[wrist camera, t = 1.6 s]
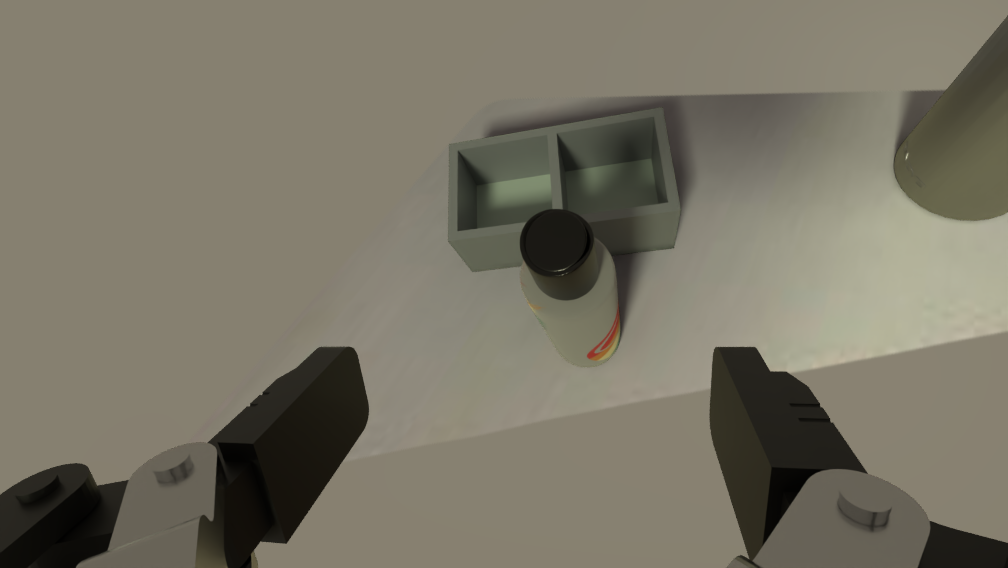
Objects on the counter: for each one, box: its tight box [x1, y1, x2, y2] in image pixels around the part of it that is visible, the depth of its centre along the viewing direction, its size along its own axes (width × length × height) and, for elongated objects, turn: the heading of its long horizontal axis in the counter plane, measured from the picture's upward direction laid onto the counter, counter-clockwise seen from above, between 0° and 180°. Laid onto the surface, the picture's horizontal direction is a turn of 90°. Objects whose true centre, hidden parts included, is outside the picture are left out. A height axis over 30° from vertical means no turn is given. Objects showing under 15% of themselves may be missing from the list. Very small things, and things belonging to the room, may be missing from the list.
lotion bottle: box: [520, 209, 620, 367], centre depth 34 cm, size 6×6×20 cm
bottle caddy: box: [448, 107, 681, 272], centre depth 44 cm, size 18×10×7 cm, turn 92°
